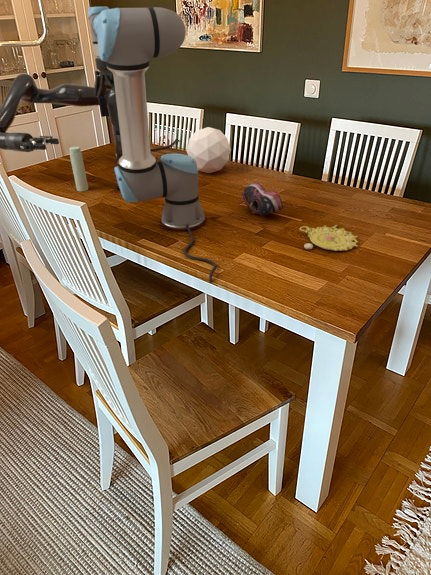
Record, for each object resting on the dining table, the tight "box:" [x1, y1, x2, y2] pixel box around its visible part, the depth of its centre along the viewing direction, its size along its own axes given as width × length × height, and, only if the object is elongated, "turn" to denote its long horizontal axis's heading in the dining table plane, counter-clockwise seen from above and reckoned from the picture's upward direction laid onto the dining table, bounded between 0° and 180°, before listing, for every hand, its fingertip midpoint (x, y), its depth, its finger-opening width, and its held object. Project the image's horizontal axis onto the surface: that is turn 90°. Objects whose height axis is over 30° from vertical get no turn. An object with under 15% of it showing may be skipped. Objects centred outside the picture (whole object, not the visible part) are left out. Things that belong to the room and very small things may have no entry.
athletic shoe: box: [238, 182, 284, 217], centre depth 160 cm, size 11×22×12 cm
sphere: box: [186, 126, 232, 174], centre depth 198 cm, size 19×20×20 cm
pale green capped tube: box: [68, 146, 89, 193], centre depth 182 cm, size 5×5×17 cm
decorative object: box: [299, 224, 359, 252], centre depth 141 cm, size 21×2×20 cm
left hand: (51, 144), depth 180 cm, fingers open, 8 cm apart
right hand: (114, 118), depth 171 cm, fingers open, 13 cm apart
